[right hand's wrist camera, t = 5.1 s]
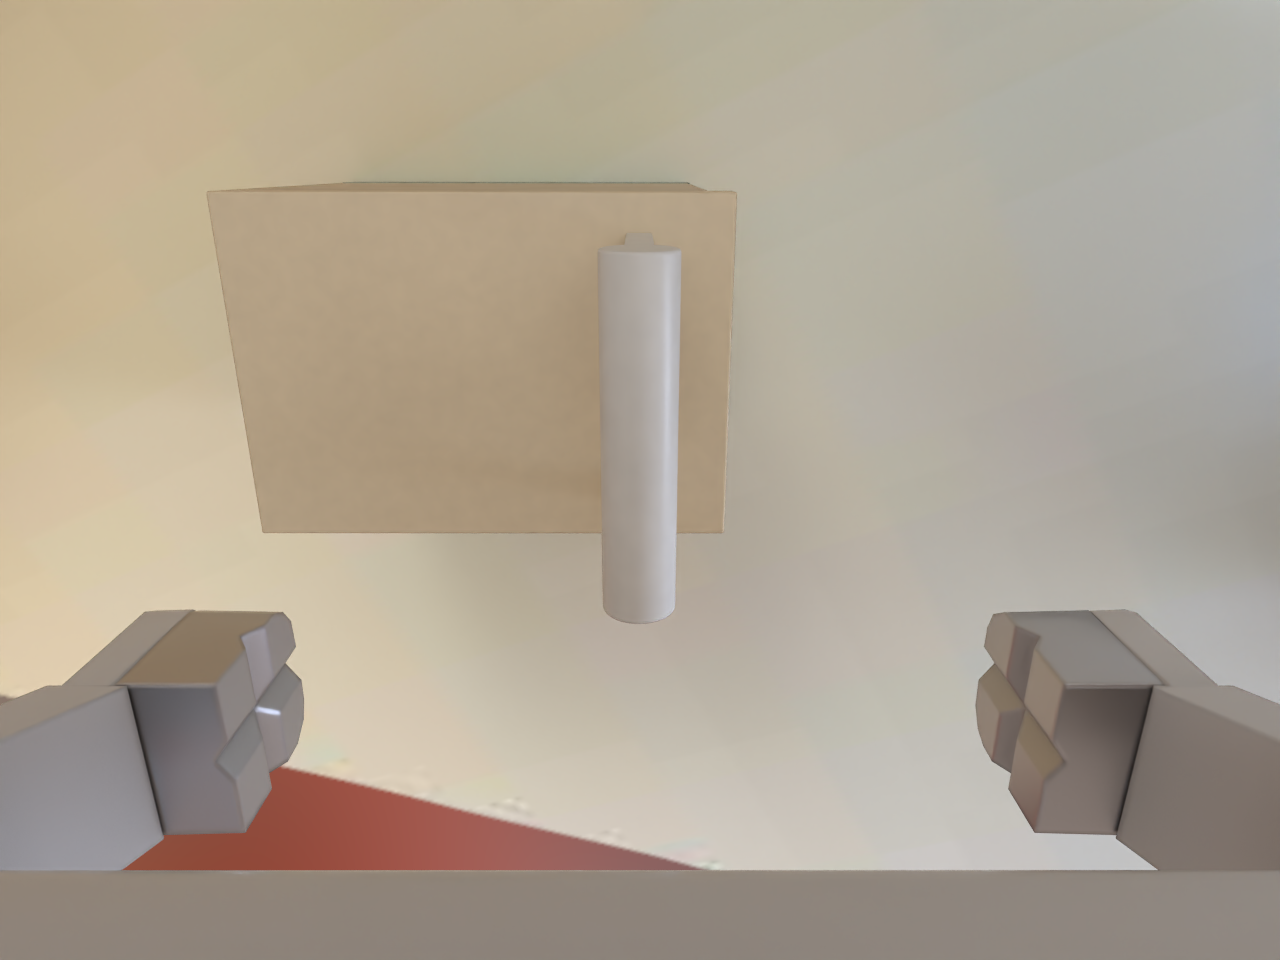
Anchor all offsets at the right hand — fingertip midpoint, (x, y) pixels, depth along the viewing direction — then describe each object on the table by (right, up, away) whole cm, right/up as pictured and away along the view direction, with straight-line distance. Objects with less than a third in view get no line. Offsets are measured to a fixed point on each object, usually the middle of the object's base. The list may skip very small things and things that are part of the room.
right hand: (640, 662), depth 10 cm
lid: (-4, +5, +15) cm, 16 cm away
